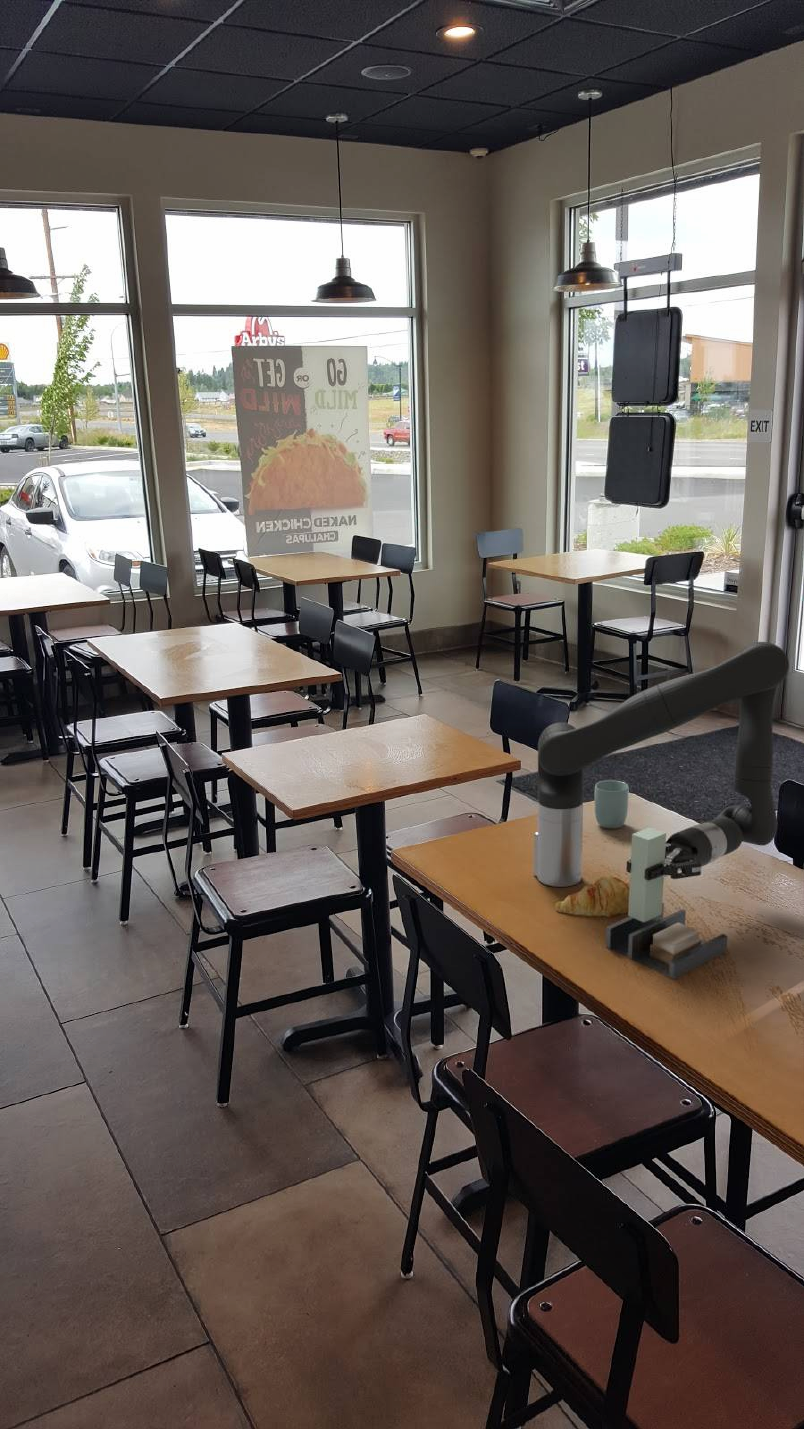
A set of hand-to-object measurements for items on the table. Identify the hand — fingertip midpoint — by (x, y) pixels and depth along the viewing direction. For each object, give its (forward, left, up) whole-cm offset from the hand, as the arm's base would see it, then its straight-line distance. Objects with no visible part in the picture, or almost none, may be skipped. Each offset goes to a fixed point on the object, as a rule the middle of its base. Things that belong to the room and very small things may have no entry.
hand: (637, 871), depth 193 cm
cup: (-42, +42, -16) cm, 62 cm away
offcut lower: (+7, +3, -15) cm, 16 cm away
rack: (+4, +3, -16) cm, 16 cm away
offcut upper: (+7, +3, -13) cm, 15 cm away
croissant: (-14, +9, -16) cm, 23 cm away
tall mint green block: (0, +3, -10) cm, 10 cm away
